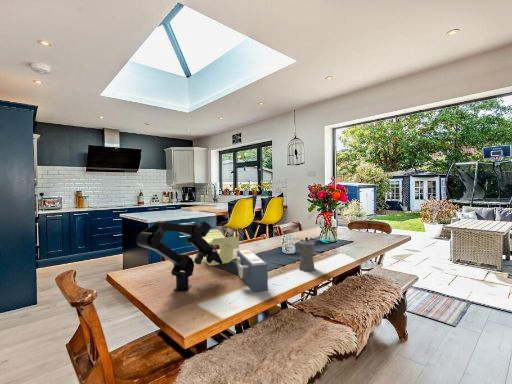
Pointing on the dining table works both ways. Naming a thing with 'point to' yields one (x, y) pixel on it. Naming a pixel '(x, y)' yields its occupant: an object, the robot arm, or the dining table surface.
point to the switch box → (254, 270)
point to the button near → (243, 270)
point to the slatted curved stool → (222, 245)
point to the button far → (239, 261)
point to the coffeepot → (306, 255)
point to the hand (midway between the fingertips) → (221, 263)
